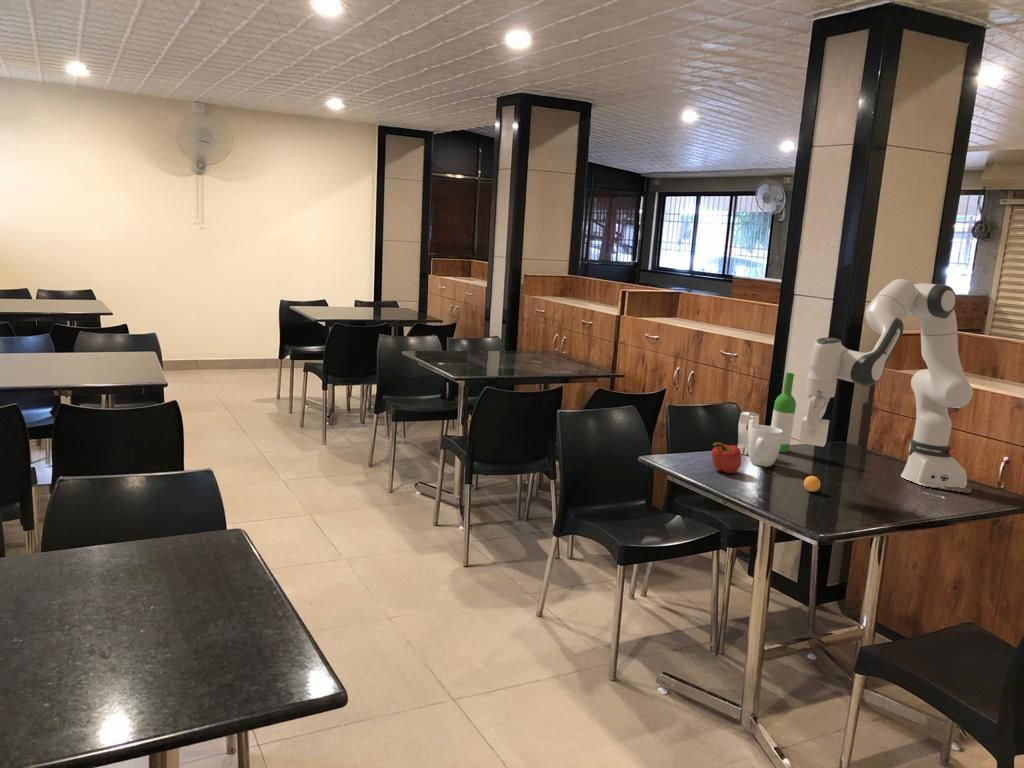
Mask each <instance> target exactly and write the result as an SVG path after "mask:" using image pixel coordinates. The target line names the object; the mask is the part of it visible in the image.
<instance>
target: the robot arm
mask: <svg viewBox="0 0 1024 768" xmlns="http://www.w3.org/2000/svg"><path fill="white" fill-rule="evenodd" d="M956 305H957V295H956V292H955V291H954V290H953V288H952V287H951V286H950V285H947V284H942V283H937V284H935V283H926V282H924V283H923V282H921V283H913V282H911V281H910V280H908V279H905V278H896V279H894V280H892V281H891V282H890V283H888V284H887V285H886V286H884V287H883V288H882V289H881V290H880V291H879V292H878V293H877V294H876V295H875V297H874V298H873V299H872V301H870V303H869V304H868V306H867V307H866V310H865V319H866V322H867V324H868V325H869V327H870V328H871V330H873V331H874V332H875V333H877V334H879V335H880V337H879V339H878V340H877V341H876V344H875V345H874V347H873V349H872V350H871V351H868V352H862V351H856V350H853V349H848V348H847V347H845V346H844V345H843V344H842V340H841V339H839V338H836V337H820V338H818V339H816V340H815V342H814V344H813V346H812V350H811V352H810V353H811V354H810V359H809V372H808V374H807V377H806V381H805V382H806V383H805V389H804V393H805V394H806V395H808V396H807V398H808V399H809V403H808V409H807V413H806V417H807V422H810V423H809V435H815V431H816V426H817V423H819V421H820V420H821V419H822V418H823V416H824V415H825V413H826V410H827V407H828V404H829V402H830V399H831V398H835V396H836V391H837V390H836V389H837V384H838V379H840V380H842V381H846V382H851V383H855V384H857V385H860V386H862V387H871V386H873V385H875V384H877V383H878V382H879V381H880V380H881V379H882V377H883V375H884V372H885V368H886V367H887V363H888V362H889V360H890V358H891V357H892V355H893V353H894V351H895V349H896V347H897V346H898V344H899V342H900V339H901V338H902V336H903V333H904V328H905V327H904V326H905V325H904V323H903V320H904V318H906V316H907V317H913V318H920V347H921V348H920V349H921V350H920V351H921V356H922V359H923V360H924V362H925V364H926V366H927V368H925V369H920V370H918V371H916V372H915V373H914V374H913V376H912V377H911V380H910V387H911V389H912V392H913V394H914V399H915V408H916V409H915V410H916V411H915V412H916V415H915V417H916V418H915V425H914V429H913V430H914V431H913V435H912V436H913V437H912V438H911V440H910V443H909V448H908V458H907V461H906V463H905V466H904V469H903V470H902V473H901V474H900V476H901V477H902V478H904V479H906V480H909V481H912V482H914V483H917V484H919V485H923V486H931V487H941V488H945V487H944V486H946V487H960V488H965V487H966V485H967V483H968V482H967V481H968V477H967V472H966V470H965V468H964V467H963V466H962V465H961V464H960V463H959V462H958V461H957V460H956V459H955V458H954V457H953V456H955V455H956V450H955V449H954V447H952V446H950V445H949V441H950V436H951V431H952V427H953V425H952V424H953V423H952V420H951V418H950V416H949V408H953V409H954V408H957V409H958V408H959V409H960V408H963V407H965V406H966V405H968V404H969V403H970V402H971V400H972V398H973V395H974V394H973V392H974V391H973V388H972V385H971V384H970V382H969V381H968V379H967V378H966V376H965V373H964V369H963V366H962V364H961V360H960V355H959V344H958V343H959V342H958V341H959V339H958V336H959V335H958V323H957V315H956V312H955V307H956ZM901 477H900V478H901ZM902 478H901V479H902ZM904 479H903V480H904ZM906 480H905V481H906ZM909 481H908V482H909ZM914 483H913V484H914Z"/></svg>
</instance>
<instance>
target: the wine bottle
mask: <svg viewBox="0 0 1024 768" xmlns="http://www.w3.org/2000/svg"><path fill="white" fill-rule="evenodd" d="M794 379H795V373H794V372H786V373H785V378H784V384H783V389H782V393H780V394H779V395H778V396H777V397H776V399H775V400H774V403H773V404H774V405H773V410H772V416H771V424H770V426H771V427H775V428H778V429H781V430H782V431H783V434H782V440H781V446H780V450H779V453H780V454H781V453H782V454H784V453H787V452H788V451H789V450H790V445H791V438H792V432H793V426H794V419H795V413H796V408H797V403H796V399H795V397H794V396H793V395H792V392H793V391H792V390H793V385H794Z"/></svg>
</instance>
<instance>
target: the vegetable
mask: <svg viewBox="0 0 1024 768" xmlns="http://www.w3.org/2000/svg"><path fill="white" fill-rule="evenodd" d="M712 446H713V448H712V451H711V457H712V464H713V467H714V468H715V470H716V471H718V472H720V473H721V472H722V473H723V472H724V473H725V474H735V473H737V472H738V471H739V469H740V468H741V466H742V465H741V464H742V454H741V452H740V449H739V448H738V447H737V446H738V445H734V444H731V445H728V444H723V443H722V442H718V441H717V442H714V443H713V444H712Z"/></svg>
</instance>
